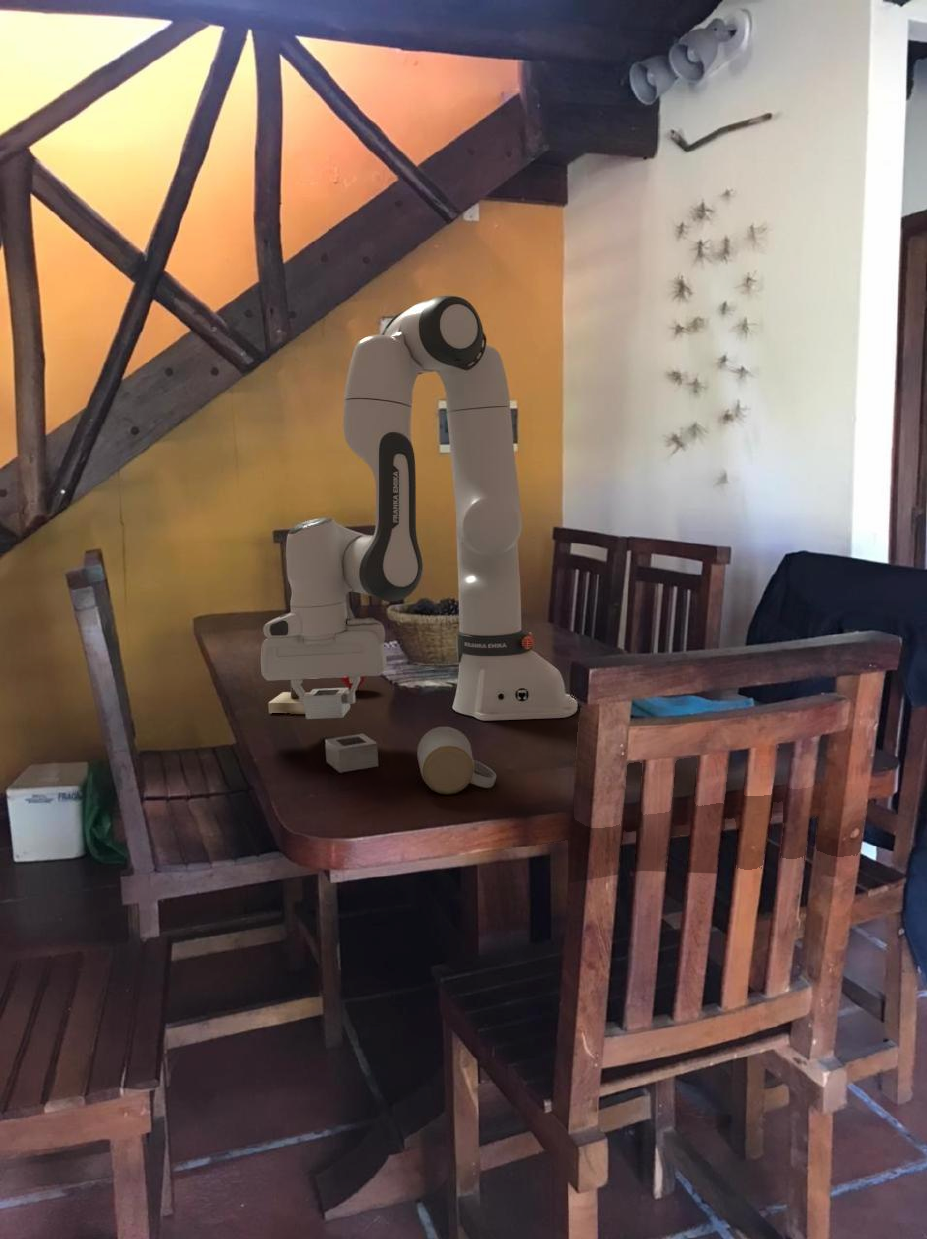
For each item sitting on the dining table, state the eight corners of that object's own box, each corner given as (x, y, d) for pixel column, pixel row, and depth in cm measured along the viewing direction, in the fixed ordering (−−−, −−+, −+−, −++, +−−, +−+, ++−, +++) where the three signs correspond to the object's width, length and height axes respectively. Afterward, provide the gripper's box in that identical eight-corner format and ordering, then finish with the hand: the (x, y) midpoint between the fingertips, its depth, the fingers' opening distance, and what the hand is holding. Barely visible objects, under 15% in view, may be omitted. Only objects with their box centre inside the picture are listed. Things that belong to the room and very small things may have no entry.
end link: (350, 708, 161) (348, 687, 160) (342, 717, 155) (340, 696, 154) (315, 709, 161) (313, 689, 161) (305, 719, 156) (304, 698, 155)
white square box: (363, 755, 149) (362, 733, 148) (378, 766, 143) (377, 743, 143) (326, 761, 146) (325, 739, 145) (339, 772, 141) (338, 749, 140)
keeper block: (324, 703, 182) (322, 666, 181) (311, 714, 174) (309, 676, 173) (283, 702, 183) (281, 666, 182) (268, 713, 175) (266, 675, 174)
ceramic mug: (421, 799, 129) (421, 743, 128) (417, 779, 137) (416, 726, 136) (500, 795, 130) (500, 740, 129) (491, 776, 138) (491, 723, 137)
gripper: (386, 613, 158) (393, 696, 160) (265, 620, 160) (273, 701, 162) (379, 620, 152) (387, 706, 154) (253, 627, 154) (262, 711, 156)
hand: (327, 703), depth 158 cm, fingers closed on end link, 6 cm apart
